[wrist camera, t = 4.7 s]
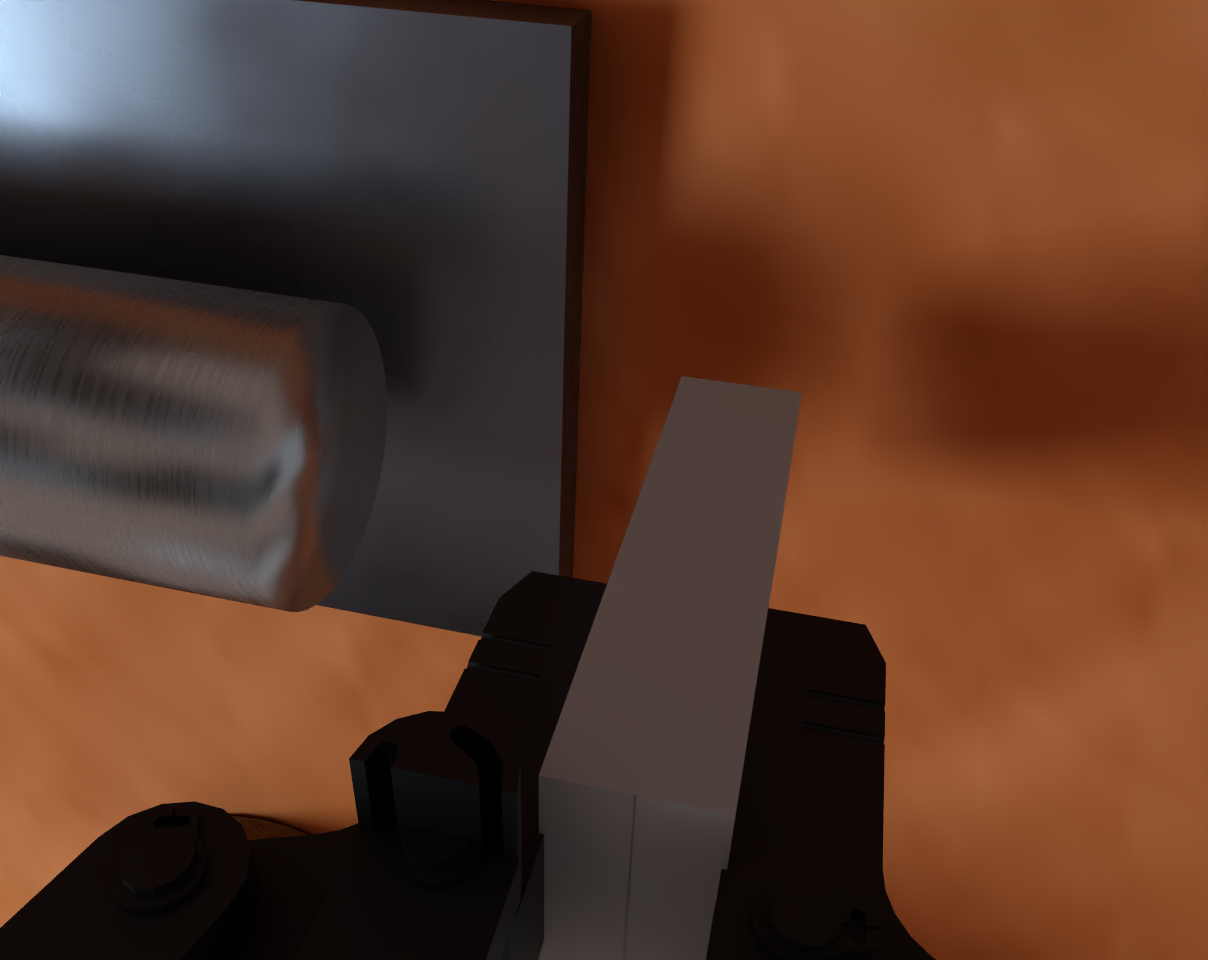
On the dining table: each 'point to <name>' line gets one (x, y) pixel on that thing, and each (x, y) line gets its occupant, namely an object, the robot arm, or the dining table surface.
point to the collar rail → (346, 230)
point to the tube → (186, 432)
